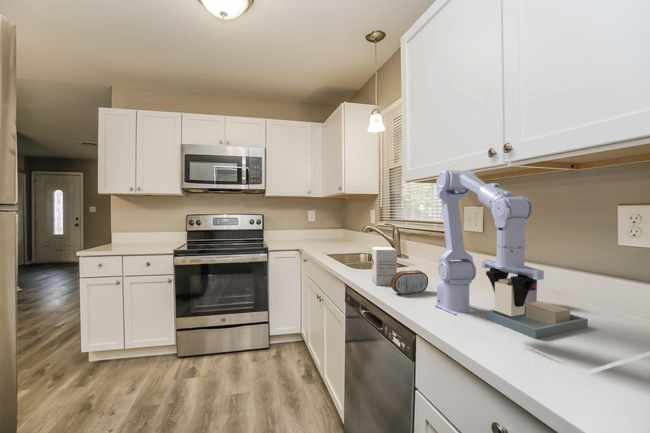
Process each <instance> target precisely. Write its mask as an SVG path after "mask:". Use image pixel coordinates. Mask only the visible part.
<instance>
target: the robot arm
mask: <svg viewBox="0 0 650 433" xmlns="http://www.w3.org/2000/svg"><path fill="white" fill-rule="evenodd" d="M436 190H437V196H438V199H440V203H441V211H442V213H441V214H442V219H443V220H442V221H443V228H444V229H443V230H444V238H445V248H446V251H445V252H444V253H442V255H441V256H440V257H439V258H438V263H439V264H438V268H437V270H438V275H439V278H440V280H439V281H438V284H437V285H436V286H437V287H436V303H435V304H434V306H435V307H437V308H439V309H441V310H443V311H446V312H448V313H450V314H452V315H455V316H458V315H459V314H466V313H471V312H476V310H475V309H473V308H471V307H470V284H473V283H472V282H473V281H474V280H475V278H476V276H477V268H476V267H477V266H476V265H475V263H474V260H473V258H474V257H473V256H472V254H470V253H469V252H467V251H466V250H465V245H464V236H463V229H462V228H463V227H462V221H461V219H462V218H461V212H460V203H459V202H460V200H461V199H464V198H465V197H467V195H468V193H470V192H473V193H474V194H475V195H477V199H478V201H479V202H480V203H481V204H482V205H484V206H485V207H487V208H488V209H490V210H491V214H492V217H493V220H494V225H495V227H496V231H497V232H496V260H491V259H482V260H481V268H482V269H483V268H484V269H489V270H486V271H485V274H486V276H487V277H488V280H489V282H490V284H491V287H492V289H493V292H494V294H495V282H498V281H499V280H500V279H508V278H509V274H512V275H513V276H510V278H511V281H512V284H513V289H514V304H515V306H516V307H521V306H524V303H525V299H526V297H527V294H528V292H529V290H530V288H531V287H532V285H533V284H534V283H535V282H536V280H537V281H539V280H540V281H543V280H544V279H545V276H544V274H545V271H544V270H541V269H538V268H534V267H530V266H527V265H525V258H526V256H525V255H526V254H525V250H526V248H525V247H526V220H528V219H529V218H530V217H531V215H532V212H533V206H532V202H531V200H530V199H529V198H527V196H525V195H519V196H517V195H516V196H515V195H513V192H512V191H510V190H506V189H504V188H502V187H501V184H500V183H498V182H492V183H491V182H490V183H486V182H485V181H483V180H482V179H481V178H479V177H478V176H477V174H476V172H475V171H472V170H469V169H467V170H448V169H442V170H441V171H440V172H439V173H438V175H437V178H436Z"/></svg>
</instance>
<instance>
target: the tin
mask: <svg viewBox="0 0 650 433" xmlns="http://www.w3.org/2000/svg"><path fill="white" fill-rule="evenodd" d="M428 285H429V277H428V275H427V274H426V273H425V272H423V271H421V270H417V269H416V270H415V269H414V270H401V271H397V273H396V274H395V275H394V276H393V277H392V280H391V285H390V286H391V288H392V290H393V292H395V293H397V294H400V295H410V294H411V295H412V294H421V293H424V292H425V291H426V289H427V288H428Z"/></svg>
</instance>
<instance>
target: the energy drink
mask: <svg viewBox="0 0 650 433" xmlns="http://www.w3.org/2000/svg"><path fill="white" fill-rule="evenodd" d="M537 294H538V280H536V282H535V283H534V284H533V285H532V287H531V288H530V290H529V292H528V294H527V297H526V299H525V305H526V303H531V302H537V296H538V295H537Z"/></svg>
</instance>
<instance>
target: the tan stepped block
mask: <svg viewBox="0 0 650 433" xmlns="http://www.w3.org/2000/svg"><path fill="white" fill-rule="evenodd" d="M570 314H571V309H569V308H567V307H563V306H558V305H557V304H556V305H555V304H552V303H548V302H545V301H541V300H539V301H537V302H531V303H526V317H527V318H530V319H533V320H536V321H539V322H542V323H544V324H547V325H553V324H557V323H562V322H567V321H570Z"/></svg>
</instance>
